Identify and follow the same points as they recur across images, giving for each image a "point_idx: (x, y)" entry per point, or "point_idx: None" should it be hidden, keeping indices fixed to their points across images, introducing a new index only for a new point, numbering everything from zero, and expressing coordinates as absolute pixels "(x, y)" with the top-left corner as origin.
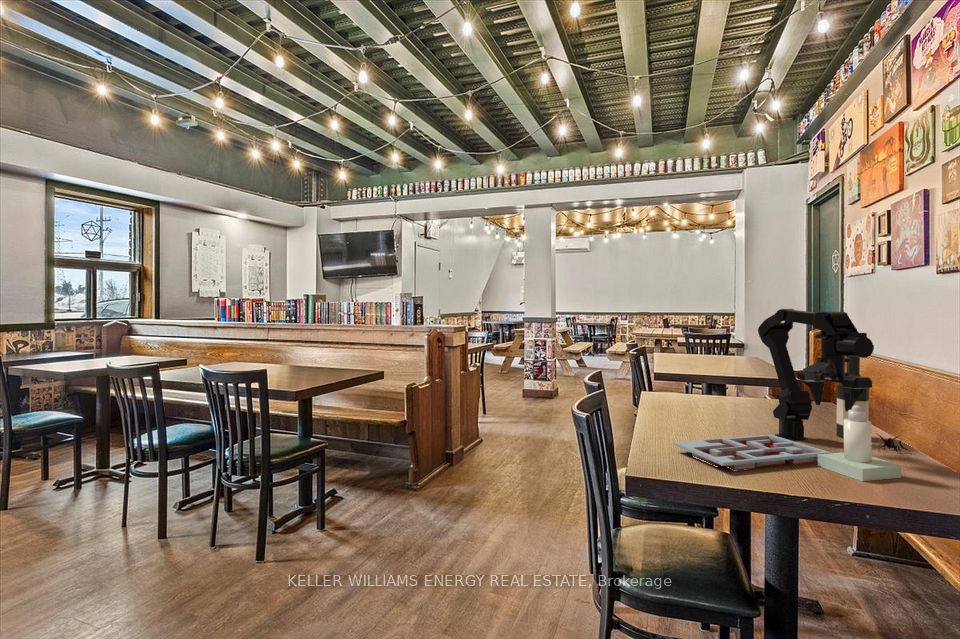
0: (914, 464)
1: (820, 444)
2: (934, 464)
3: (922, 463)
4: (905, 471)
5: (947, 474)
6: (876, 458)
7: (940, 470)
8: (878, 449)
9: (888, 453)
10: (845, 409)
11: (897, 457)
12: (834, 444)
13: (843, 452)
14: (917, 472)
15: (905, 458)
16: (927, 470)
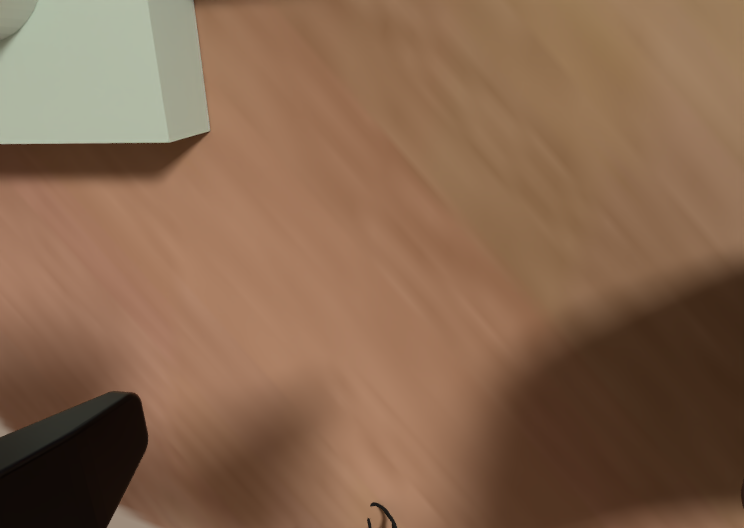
0: (156, 441)
1: (658, 331)
2: (151, 524)
3: (169, 492)
4: (43, 273)
5: (7, 418)
6: (1, 137)
7: None
8: (391, 519)
9: (351, 521)
10: (116, 402)
11: (276, 488)
12: (617, 425)
13: (151, 24)
14: (30, 317)
15: (255, 506)
16: (62, 397)
